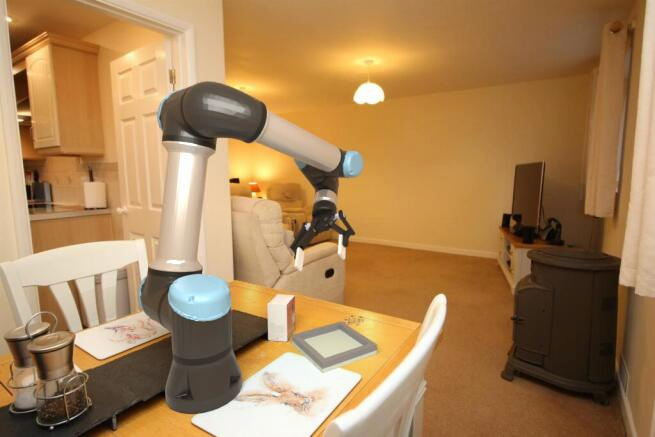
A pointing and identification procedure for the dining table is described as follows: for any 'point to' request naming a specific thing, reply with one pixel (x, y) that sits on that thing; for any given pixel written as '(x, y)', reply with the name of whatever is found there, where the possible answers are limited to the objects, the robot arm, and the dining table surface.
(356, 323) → the dice set
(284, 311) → the small box
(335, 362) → the tray
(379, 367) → the dining table surface
